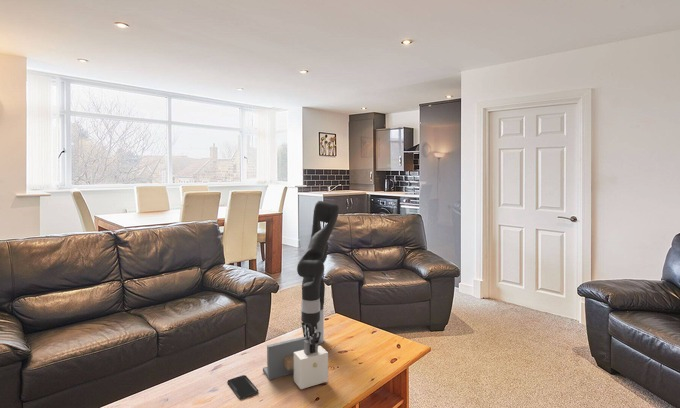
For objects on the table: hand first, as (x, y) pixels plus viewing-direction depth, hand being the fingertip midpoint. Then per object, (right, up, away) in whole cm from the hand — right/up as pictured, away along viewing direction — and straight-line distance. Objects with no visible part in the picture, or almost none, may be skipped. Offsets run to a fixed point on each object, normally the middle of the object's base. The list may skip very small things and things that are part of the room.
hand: (310, 350), depth 150 cm
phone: (-27, -14, -2) cm, 31 cm away
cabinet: (0, -13, +1) cm, 13 cm away
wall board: (-9, -13, +9) cm, 19 cm away
